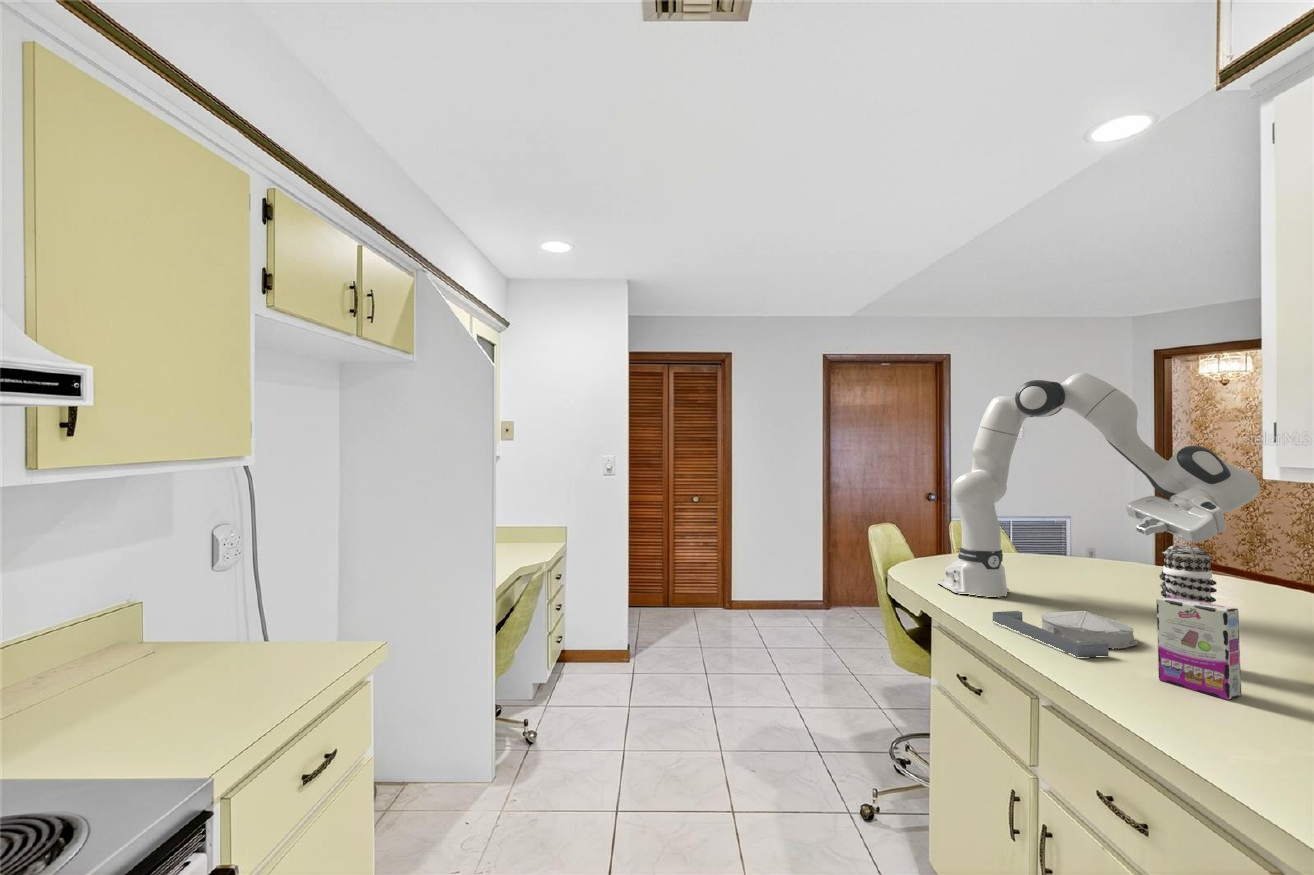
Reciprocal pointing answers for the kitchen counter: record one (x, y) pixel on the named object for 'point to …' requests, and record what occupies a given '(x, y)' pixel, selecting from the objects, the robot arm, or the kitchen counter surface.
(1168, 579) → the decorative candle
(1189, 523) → the robot arm
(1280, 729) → the kitchen counter surface
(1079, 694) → the kitchen counter surface
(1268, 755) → the kitchen counter surface
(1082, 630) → the food container
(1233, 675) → the candy bar box
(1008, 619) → the gray u-shaped pull
